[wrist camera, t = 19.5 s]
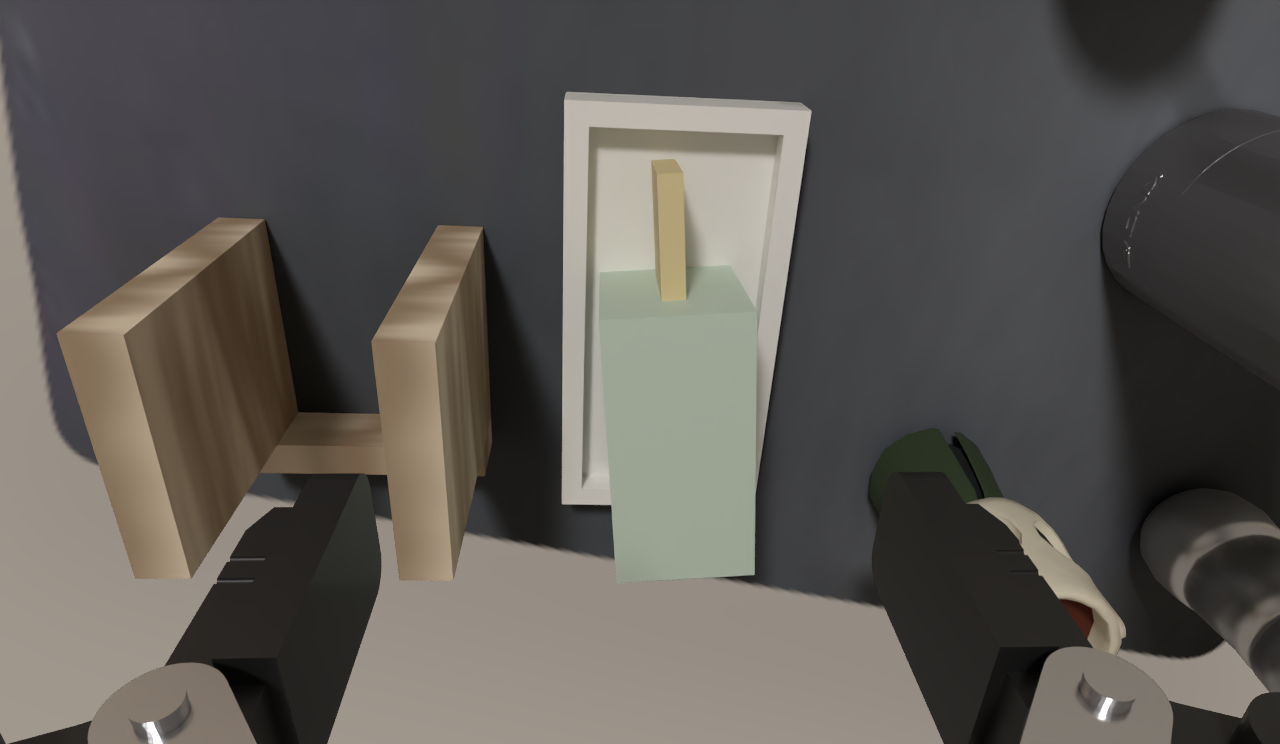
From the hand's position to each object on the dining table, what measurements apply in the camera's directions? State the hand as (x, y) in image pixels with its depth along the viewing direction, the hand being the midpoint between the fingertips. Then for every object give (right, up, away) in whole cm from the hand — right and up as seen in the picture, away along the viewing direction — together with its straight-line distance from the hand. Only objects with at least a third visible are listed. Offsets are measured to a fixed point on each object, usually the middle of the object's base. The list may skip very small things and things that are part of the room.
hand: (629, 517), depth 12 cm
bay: (-13, +4, +26) cm, 29 cm away
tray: (+1, +5, +26) cm, 27 cm away
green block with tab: (+1, +4, +25) cm, 26 cm away
